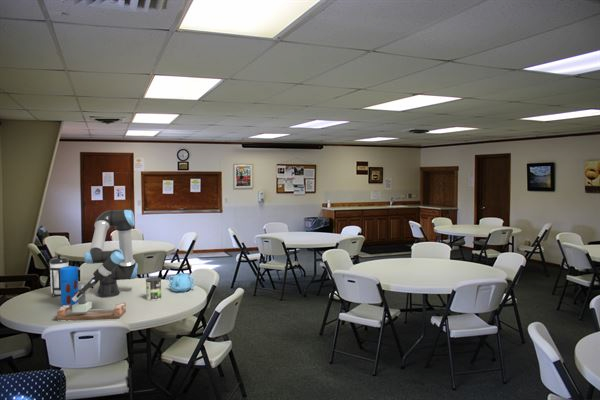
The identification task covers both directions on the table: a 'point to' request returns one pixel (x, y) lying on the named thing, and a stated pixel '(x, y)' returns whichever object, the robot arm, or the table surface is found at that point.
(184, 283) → the decorative pot
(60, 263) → the coffee press
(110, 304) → the table surface
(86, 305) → the carriage
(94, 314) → the rail board
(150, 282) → the coffee can
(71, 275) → the thermos
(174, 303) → the table surface
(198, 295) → the table surface
